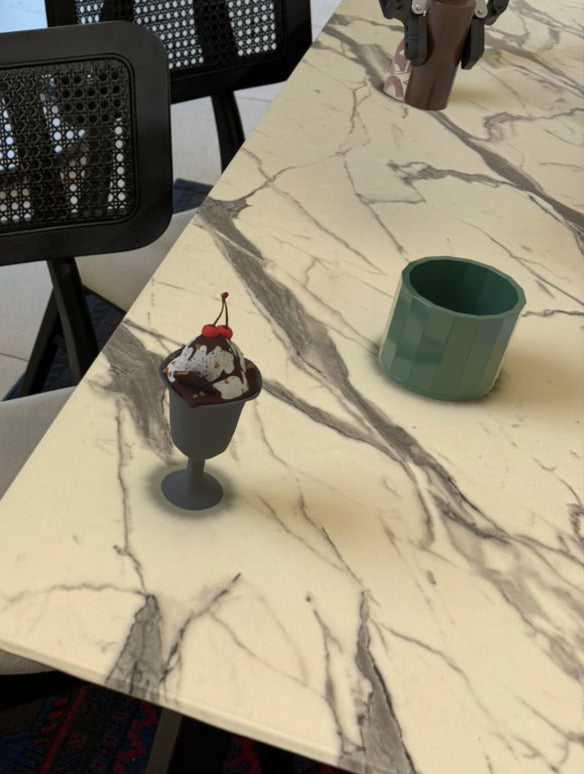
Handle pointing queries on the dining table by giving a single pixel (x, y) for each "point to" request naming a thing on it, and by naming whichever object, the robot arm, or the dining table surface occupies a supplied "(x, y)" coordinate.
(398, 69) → the figurine
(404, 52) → the robot arm
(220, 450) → the sundae
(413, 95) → the pestle
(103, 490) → the dining table surface
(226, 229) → the dining table surface
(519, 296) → the crock
